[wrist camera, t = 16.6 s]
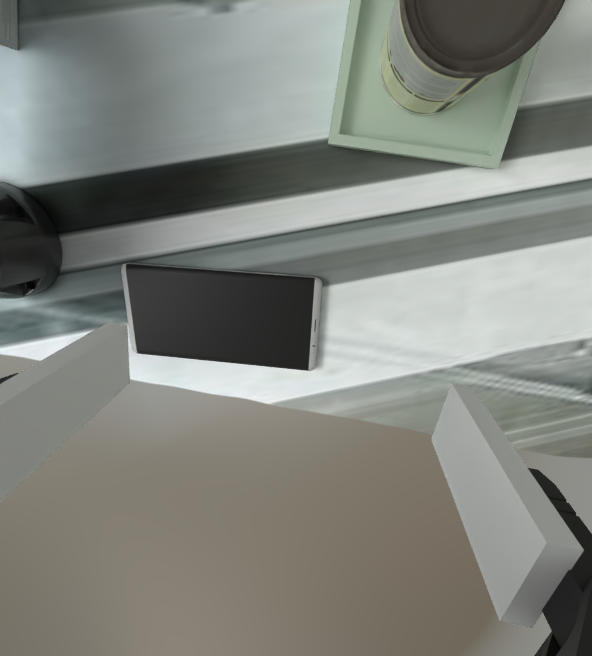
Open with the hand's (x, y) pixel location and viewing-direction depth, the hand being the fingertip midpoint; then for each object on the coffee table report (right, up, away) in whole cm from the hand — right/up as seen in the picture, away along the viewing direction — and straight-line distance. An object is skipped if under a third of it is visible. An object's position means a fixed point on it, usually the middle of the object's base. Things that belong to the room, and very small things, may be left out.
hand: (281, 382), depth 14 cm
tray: (+14, +29, +21) cm, 39 cm away
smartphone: (-10, +4, +35) cm, 36 cm away
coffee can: (+14, +29, +21) cm, 38 cm away
